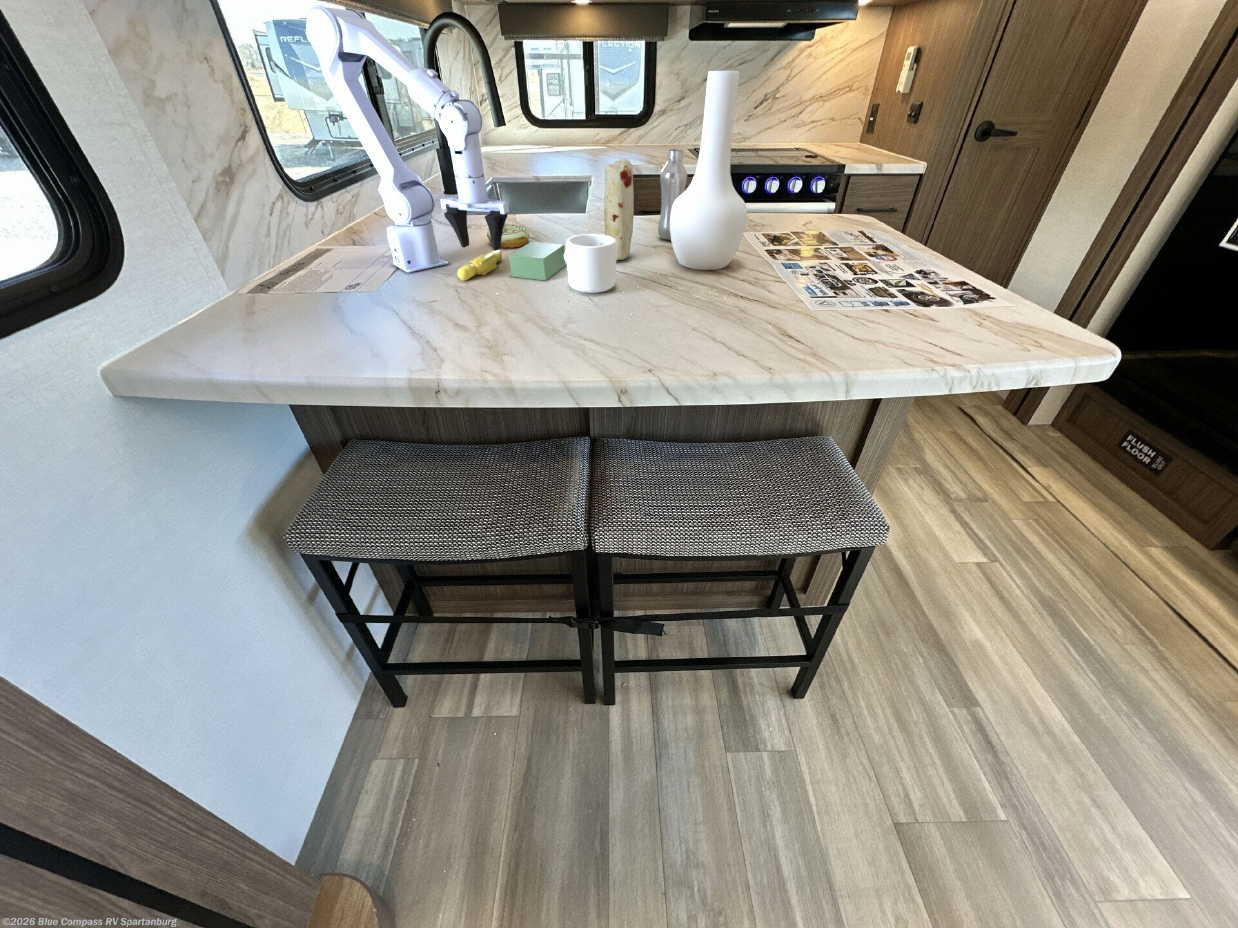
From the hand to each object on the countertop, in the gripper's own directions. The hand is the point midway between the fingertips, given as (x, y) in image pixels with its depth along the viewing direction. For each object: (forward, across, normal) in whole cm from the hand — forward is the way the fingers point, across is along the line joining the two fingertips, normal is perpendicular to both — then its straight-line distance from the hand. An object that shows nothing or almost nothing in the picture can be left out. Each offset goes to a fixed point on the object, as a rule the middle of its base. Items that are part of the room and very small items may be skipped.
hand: (481, 248), depth 108 cm
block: (+5, +11, +4) cm, 13 cm away
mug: (+5, +26, -1) cm, 26 cm away
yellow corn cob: (+5, 0, 0) cm, 5 cm away
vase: (+5, +45, +22) cm, 50 cm away
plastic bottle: (+5, +33, +39) cm, 51 cm away
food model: (+5, +25, +19) cm, 32 cm away
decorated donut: (+5, -5, +21) cm, 23 cm away
